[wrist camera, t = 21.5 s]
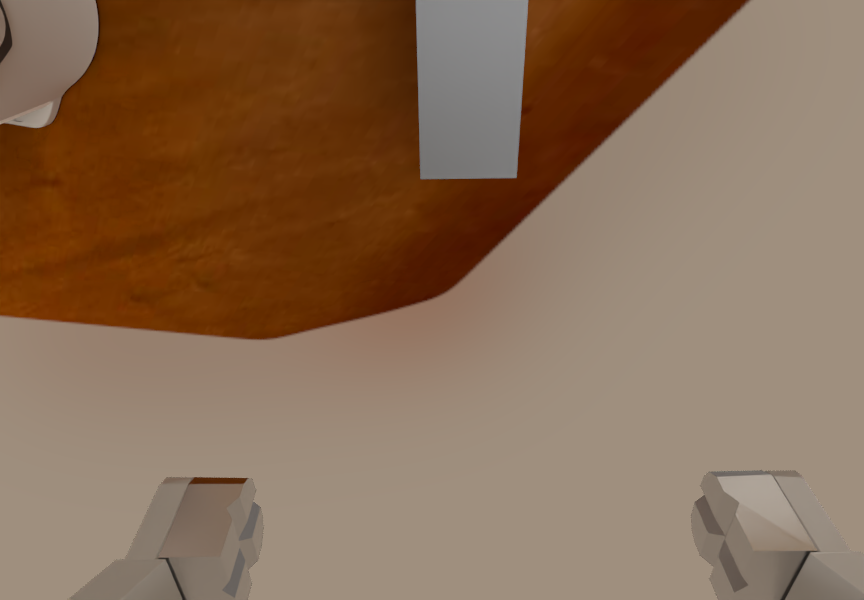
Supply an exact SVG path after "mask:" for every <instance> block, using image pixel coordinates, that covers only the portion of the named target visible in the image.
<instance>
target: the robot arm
mask: <svg viewBox="0 0 864 600" xmlns="http://www.w3.org/2000/svg"><path fill="white" fill-rule="evenodd" d="M97 40H98V12H97V6H96V1H95V0H0V124H3V123H8V124H14V125H19V126H25V127H31V128H41V127H44V126H47V125H49V124H51V123H52V122H53V120H54V119H55V117H56V114H57V112H58V109H59V105H60V102H61V98H62V96H63V94H64V93H65V92H66V91H67V89H68V88H70V87H71V86H72V85H73V84H74V83H75V82H76V81H77V80H78V79H79V78H80V77H81V76H82V75H83V74H84V72H85V71H86V70H87V68H88V66H89V65H90V63H91V61H92V58H93V56H94V53H95V49H96V46H97ZM701 488H702V490H703V492H704V496H702V497H701V498H700V499H698V500H697V501H696V502H695V503H694V507H693V510H692V514H691V523H692V533H693V537H694V541H695V544H696V547H697V549H698V552H699V554H700V556H701V557H702V558H704V559H705V560H706V561H707V562H709V563H710V564H711V565H712V566H713V570H712V573H711V576H710V581H711V584H712V586H713V588H714V591H715V593H716V596H717V598H718V600H864V554H863V553H861V552H852V551H851V550H850V548H849V547H848V545H847V544H846V542H845V541H844V540H843V538H842V536H841V535H840V533H839V532H838V530H837V529H836V527H835V526H834V524H833V522H832V521H831V519H830V518H829V516H828V515H827V514H826V512H825V510H824V509H823V507H822V506H821V504H820V503H819V501H818V500H817V498H816V497H815V495H814V493H813V492H812V490H811V489H810V487H809V486H808V484H807V483H806V481H805V480H804V478H803V477H802V475H800V474H799V473H798V472H796V471H761V470H760V471H724V472H723V471H722V472H708V473H707V474H706V475H705V476H704V477H703V480H702V483H701ZM255 493H256V489H255V486H254V483H253V479H250V478H202V477H201V478H200V477H199V478H197V477H194V478H180V477H176V478H175V477H173V478H172V477H169V478H168V477H167V478H166V479H165V480H164V481H163V482H162V483H161V484H160V485H159V487H158V489H157V491H156V493H155V495H154V497H153V500H152V502H151V504H150V506H149V508H148V510H147V512H146V515H145V517H144V519H143V521H142V523H141V525H140V527H139V529H138V531H137V534H136V536H135V538H134V540H133V542H132V545H131V546H130V549H129V551H128V553H127V555H126V557H125V559H120V560H115V561H114V562H112V563H111V564H110V565H109V566H108V567H107V568H105V569H104V570H103V571H102V572H101V573H99V574H98V575H97V576H96V577H94V578H93V579H92V580H91V581H90V582H88V583H87V584H86V585H85V586H84V587H83V588H81V589H80V590H79V591H78V592H76V593H75V594H74V595H73V596H72V597H70V598H69V599H68V600H248V596H249V593H250V589H251V586H252V582H251V578H250V575H249V571H248V570H249V568H250V567H252V566H253V565H254V564H255V563H256V562H257V561H258V559H259V555H260V551H261V546H262V539H263V529H264V527H263V515H262V511H261V507H260V506H258V505H257V504H256V503H255V502H253V500H254V497H255Z"/></svg>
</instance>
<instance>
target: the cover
mask: <svg viewBox="0 0 864 600" xmlns="http://www.w3.org/2000/svg"><path fill="white" fill-rule="evenodd" d="M527 11H528V0H416V27H417V65H418V103H419V141H420V179H474V178H517V164H518V148H519V133H520V118H521V103H522V88H523V72H524V57H525V42H526V27H527Z"/></svg>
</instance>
